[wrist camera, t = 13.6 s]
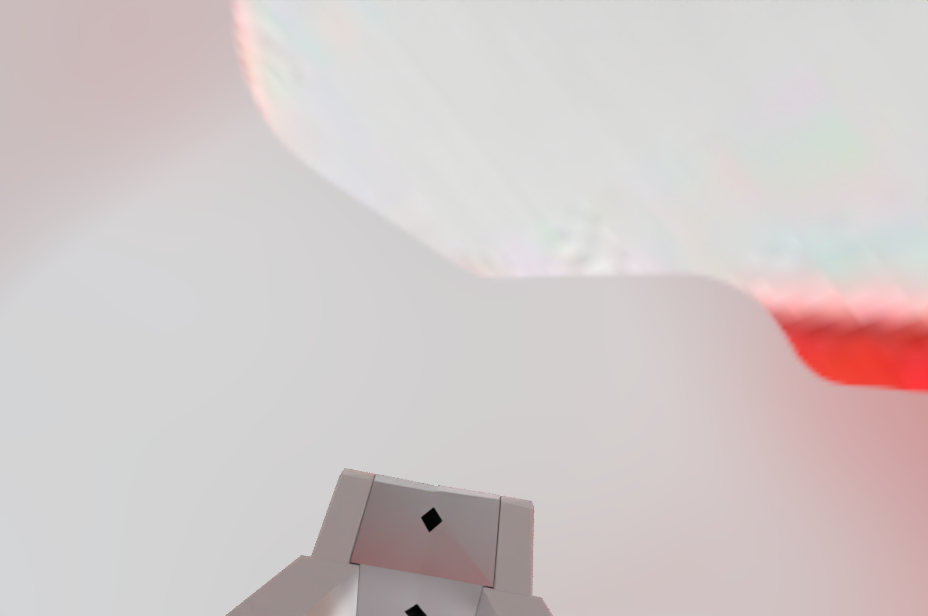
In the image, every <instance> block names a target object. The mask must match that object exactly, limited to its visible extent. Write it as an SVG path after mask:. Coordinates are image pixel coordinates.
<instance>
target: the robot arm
mask: <svg viewBox="0 0 928 616" xmlns="http://www.w3.org/2000/svg"><path fill="white" fill-rule="evenodd" d="M533 527H534V506H533V503H532V501H528V500H522V499H516V498H511V497H505V496H500V497H499V495H496V494H490V493H483V492H477V491H471V490H465V489H458V488H452V487H446V486H440V485H438V486H434V485H429V484H424V483H419V482H414V481H409V480H404V479H399V478H394V477H389V476H384V475H379V474H372V473H367V472H362V471H357V470H352V469H346V468H345V469H344V470H343V472H342V473H341V475H340V476H339V479H338V482H337V485H336V488H335V491H334V493H333V496H332V499H331V502H330V504H329V508H328V510H327V513H326V516H325V519H324V522H323V525H322V527H321V530H320V533H319V536H318V538H317V541H316V544H315V547H314V550H313V553H312V556H311V557H310V556H303V555H301V556H300V557H299V558H297V559H296V560H295V561H294V562H292V563H291V564H290V565H289V566H287V567H286V568H285V569H284V570H282V571H281V572H280V573H279V574H277V575H276V576H275V577H273V578H272V579H271V580H270V581H268V582H267V583H266V584H265V585H263V586H262V587H261V588H260V589H259V590H257V591H256V592H255V593H253V594H252V595H251V596H250V597H248V598H247V599H246V600H245V601H244V602H242V603H241V604H240V605H238V606H237V607H236V608H235V609H233V610H232V611H231V612H229V613H228V614H227V615H226V616H552V614H551V612H550V610H549V609H548V607H547V605H546V604H545V602H544V600H543V599H542V598H541V597H536V596H532V577H533V576H532V575H533Z"/></svg>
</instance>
